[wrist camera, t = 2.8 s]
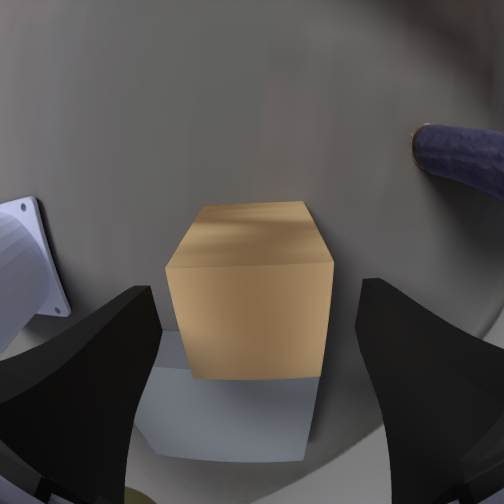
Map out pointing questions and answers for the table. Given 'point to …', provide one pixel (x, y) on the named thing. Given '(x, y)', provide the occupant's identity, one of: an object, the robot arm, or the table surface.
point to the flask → (462, 155)
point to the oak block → (252, 292)
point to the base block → (222, 412)
